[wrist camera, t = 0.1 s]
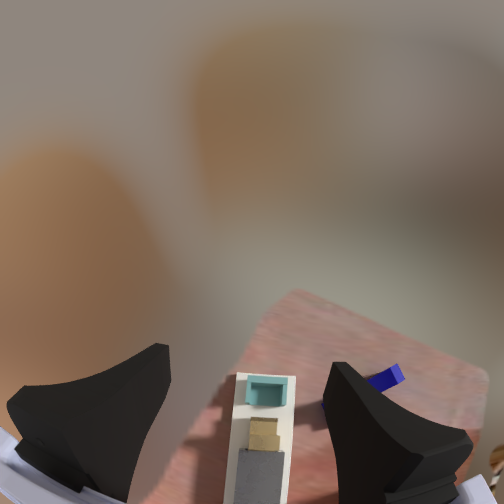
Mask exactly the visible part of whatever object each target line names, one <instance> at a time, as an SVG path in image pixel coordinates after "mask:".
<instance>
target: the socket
mask: <svg viewBox="0 0 504 504" xmlns="http://www.w3.org/2000/svg"><path fill="white" fill-rule="evenodd" d="M287 384H288V377H268V376H254V375H248V378H247V388H246V399H245V404H247V405H260V406H278V407H283V406H285V405H286V401H287Z"/></svg>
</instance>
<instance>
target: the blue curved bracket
mask: <svg viewBox="0 0 504 504" xmlns="http://www.w3.org/2000/svg"><path fill="white" fill-rule="evenodd" d="M403 380H405V378H404V376H403V374H402V372H401V370H400V368H399V366H398V364H395V365H394V366H392V367H390V368H388V369H386V370H384V371H383V372H381V373H379V374H377V375H376V376H374V377H372V378H371V379H369V380H367V381H368V382H369V383H370V384H371V385H372V386H373V387H375V388H376V389H377V390H378V391H379V392H383V391H385V390H387V389H389V388H391V387H393V386H395V385H397V384H399V383H400V382H402V381H403ZM322 406H323V409H324V403H322Z"/></svg>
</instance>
